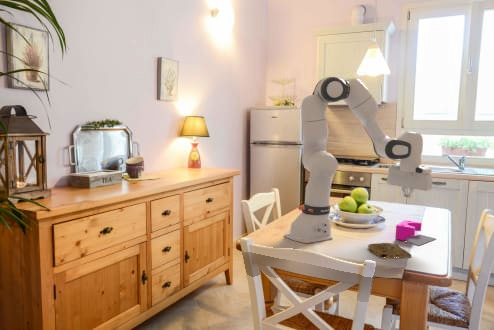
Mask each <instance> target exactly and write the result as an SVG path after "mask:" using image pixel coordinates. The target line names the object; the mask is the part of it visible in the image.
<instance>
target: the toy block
mask: <svg viewBox="0 0 494 330" xmlns="http://www.w3.org/2000/svg"><path fill="white" fill-rule="evenodd" d="M422 225H423V223H422V222H420V221H414V220H407V219H405V220H402V221H401V222H399V223H397V224H396V226H395V236H394V237H395V239H396V240H401V241H402V240H405V241H406V240H407V239H408V238H409V237H413V236H416V235H415V234H416V232H421V231H422V227H423V226H422Z"/></svg>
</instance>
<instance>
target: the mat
mask: <svg viewBox="0 0 494 330" xmlns="http://www.w3.org/2000/svg"><path fill="white" fill-rule="evenodd" d="M436 240H437V238H435V237H432V236H428V235H423V234H416V235H414V236H409V237H408V239H407V240H406V241H407V242H409V243H408V244H410V243H411V245H414V246H416V247H417V246H418V247H420V246H423V245H426V244H428V243H430V242H433V241H436ZM403 241H405V240H401V242H403Z"/></svg>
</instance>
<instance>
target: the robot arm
mask: <svg viewBox="0 0 494 330" xmlns="http://www.w3.org/2000/svg"><path fill="white" fill-rule="evenodd" d="M339 101H343V102H344V103H345V104H346V105H347V106H348V108H349V109H350V111H351V112H352V114H353V115H354V116H355V118H356V119H357V120H358V121H359V122H360V124H361V125H362V127H363V129H364V130H365V132H366V134H367V135H368V136H369V138H370V140H371V142H372V145H373V151H374V153H375V154H376V156H377V157H378V158H379V157H380V158H382V159H388V160H392V161H393V160H394V161H396V160H400V162H399V165H396V164H395V165H394V164H392V165H390V166H389V167H388V173H387V178H386V182H387V185H391V186H397V187H398V186H399V187H401V191H402V193H403V198H404V197H405V198H409V199H411V197H412V194H413V193H414V192H415V190H419V191H425V192H429V191H431V190H432V188H433V176H432V171H433V169H432V168H430V167H429V166H426V165H424V164H422V153H423V148H424V147H423V145H424V139H423V136H422V134H421V133H418V132H415V131H409V130H408V131H407V130H406V131H404V132H403V133H402V134H399V135H397V136H395V137H390V136H388V135H386V134H385V132H384V131H383V130H382V128H381V125H380V124H379V123H378V121H377V114H378V112H379V105H378V102H377V101H376V99H375V97H374V95H373V94H372V93H371V91H370V90H369V88H368V87H367V86H366V85H365V83H363V82H362V80H360V79H359V78H354V77H353V78H350V79H348V80H347V81H346V80H344V79H342V78H339V77H337V76H327V77H324V78H322V79H320V80H319V81H318V82H317V83H316V85H315V86H314V89H313V92H312V94H310V95H307V96H306V97H304V98H303V99H302V102H301V109H300V110H301V113H300V114H301V125H302V131H303V132H302V133H303V151H302V152H303V155H302V159H301V160H302V162H301V163H302V165H303V167H304V169H305V170H307V171H308V172H309V177H308V180H307V181H308V182H307V184H306V186H305V195H304V204H303V205H299V206H297V207H298V210H299V211H301V213H300V214H299V215H298V216H296V218H295V219H294V220H293V221H292V222H291V225H290V228H289V229H290V231H287V232H286V233H284V237H285V238H288V239H290V240H292V241H295V242H299V243H304V244H310V243H315V242H316V243H317V242H322V241H328V240H333V235H332V227H331V226H332V223H331V218H330V213H331V205H330V198H331V188H332V183H333V180H334V175H335V174H336V173H337V170H338V167H339V161H338V160H337V159H336V157H335V156H334V155H333V154H331V153H330V152H327V144H328V143H327V142H328V139H329V136H330V135H329V134H330V133H329V127H328V126H329V125H328V119H327V106H328V105H329V103H330V104H331V103H337V102H339ZM407 189H409V192H407Z"/></svg>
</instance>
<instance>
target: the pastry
mask: <svg viewBox="0 0 494 330" xmlns="http://www.w3.org/2000/svg"><path fill="white" fill-rule="evenodd" d="M367 247H368V248H369V250H370V251H371V252H372V253H373V252H374V253H373V254H375V255H376V256H377V255H378V256H379V258H380V257H385V258H391V259H397V258H396V257H408V258H407V259H411V258H412V254H411V253H410V252H409V251H407V250H406V249H403V247H402V248H401V246H399V245H397V244H395V243H391V242H382V243H378V242H377V243H370V244H368V245H367ZM378 256H377V257H378ZM394 257H395V258H394ZM385 258H384V259H385Z"/></svg>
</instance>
